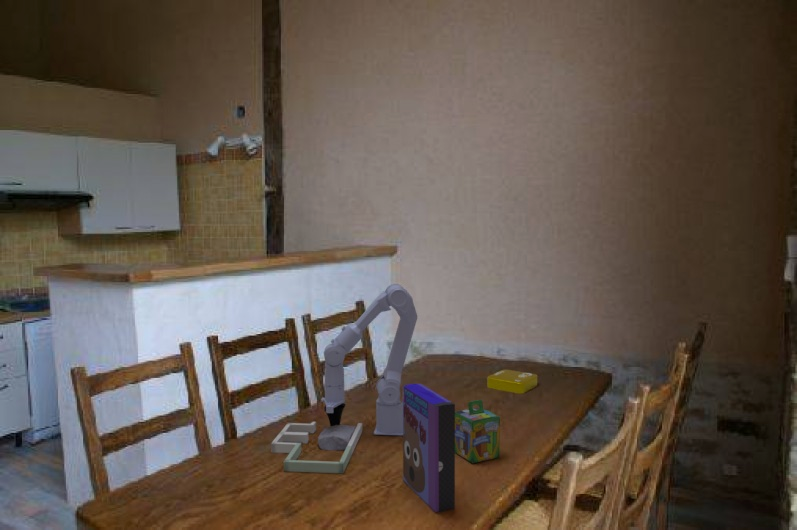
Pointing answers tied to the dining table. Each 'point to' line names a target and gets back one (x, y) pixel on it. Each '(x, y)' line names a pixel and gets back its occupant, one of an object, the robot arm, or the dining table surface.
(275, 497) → the dining table surface
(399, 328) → the robot arm
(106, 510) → the dining table surface
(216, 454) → the dining table surface
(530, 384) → the element tile
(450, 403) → the cereal box
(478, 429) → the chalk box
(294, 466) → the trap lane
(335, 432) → the stone block
